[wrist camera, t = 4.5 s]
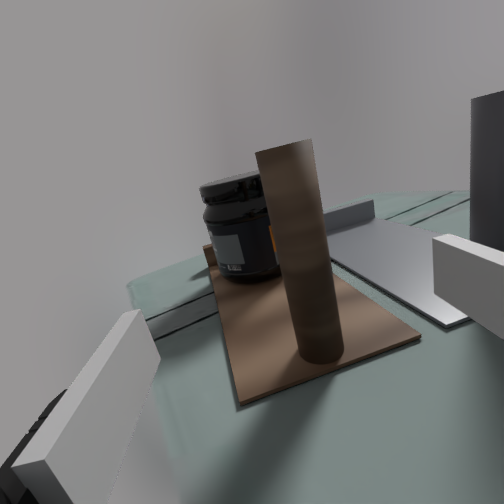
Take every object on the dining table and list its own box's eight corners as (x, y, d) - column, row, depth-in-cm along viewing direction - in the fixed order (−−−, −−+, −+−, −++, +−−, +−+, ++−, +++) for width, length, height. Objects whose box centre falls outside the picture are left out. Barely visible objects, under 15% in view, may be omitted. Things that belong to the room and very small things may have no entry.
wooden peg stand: (421, 337, 19) (409, 113, 15) (240, 405, 18) (165, 174, 13) (286, 242, 46) (267, 151, 41) (208, 266, 44) (180, 173, 39)
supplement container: (313, 253, 38) (297, 161, 34) (272, 292, 30) (245, 179, 26) (252, 252, 44) (232, 175, 41) (205, 283, 37) (176, 192, 33)
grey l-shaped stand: (592, 273, 21) (627, 59, 17) (446, 328, 20) (441, 105, 15) (369, 217, 48) (359, 128, 43) (298, 239, 46) (280, 148, 42)
